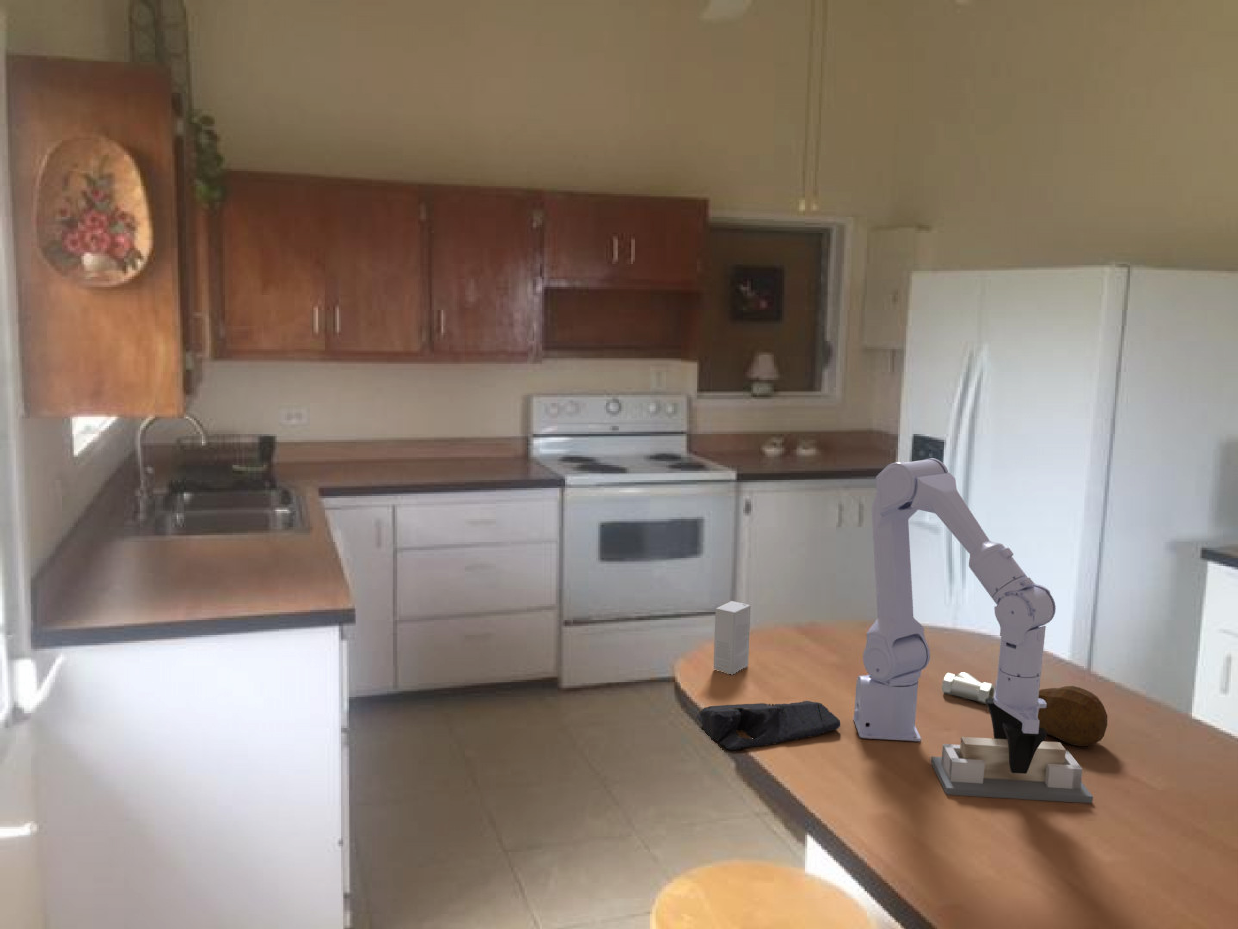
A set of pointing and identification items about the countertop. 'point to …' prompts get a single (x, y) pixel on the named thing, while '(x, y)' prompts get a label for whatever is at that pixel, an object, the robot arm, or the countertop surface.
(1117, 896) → the countertop surface
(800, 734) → the black folded cloth
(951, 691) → the pipe fitting
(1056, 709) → the potato
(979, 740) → the slat
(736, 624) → the skincare box
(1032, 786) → the board
